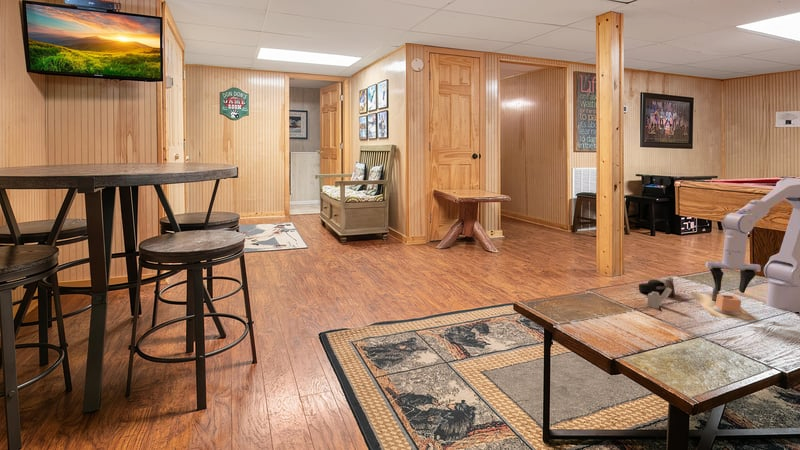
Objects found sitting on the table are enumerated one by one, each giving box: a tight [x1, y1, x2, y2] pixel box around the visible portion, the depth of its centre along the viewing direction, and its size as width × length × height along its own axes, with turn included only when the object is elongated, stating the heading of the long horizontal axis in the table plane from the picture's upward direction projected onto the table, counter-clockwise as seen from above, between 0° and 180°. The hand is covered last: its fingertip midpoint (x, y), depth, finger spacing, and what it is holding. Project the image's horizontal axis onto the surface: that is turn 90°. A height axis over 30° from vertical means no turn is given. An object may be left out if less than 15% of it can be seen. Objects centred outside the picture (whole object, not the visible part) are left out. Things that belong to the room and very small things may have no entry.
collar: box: [716, 293, 742, 312], centre depth 146 cm, size 5×5×4 cm
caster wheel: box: [638, 276, 676, 298], centre depth 167 cm, size 7×12×10 cm
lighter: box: [647, 288, 672, 310], centre depth 152 cm, size 7×2×8 cm, turn 29°
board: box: [689, 286, 758, 321], centre depth 152 cm, size 12×24×6 cm, turn 163°
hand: (729, 291), depth 146 cm, fingers open, 6 cm apart
